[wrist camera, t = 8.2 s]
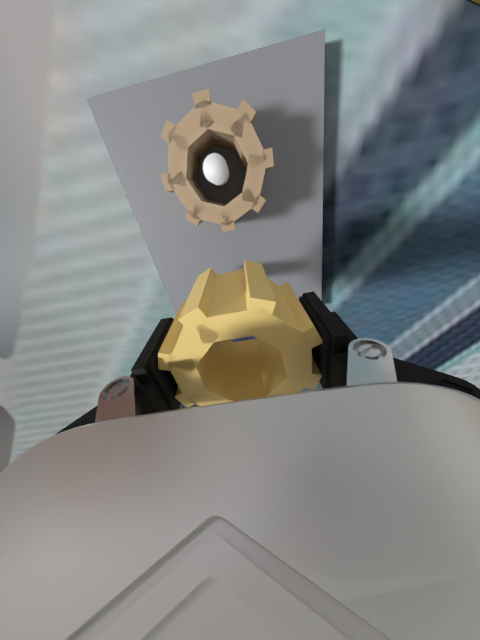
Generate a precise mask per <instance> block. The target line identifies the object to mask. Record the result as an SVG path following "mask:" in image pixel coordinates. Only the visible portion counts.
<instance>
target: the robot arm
mask: <svg viewBox="0 0 480 640" xmlns="http://www.w3.org/2000/svg"><path fill="white" fill-rule="evenodd" d="M299 301H300V303H301V305H302V306H303V308H304V310H305V311H306V313H307V315H308V316H309V318H310V320H311V321H312V323H313V325H314V326H315V328H316V330H317V332H318V333H319V335H320V337H321V339H322V344H320V345H318V346H315V347H313V348H312V356H313V358H314V360H315V362H316V364H317V366H318V368H319V370H320V373H321V375H322V378H321V379H320V383H321V385H322V387H323V389H317V390H310V391H303V392H296V393H288V394H281V395H274V396H267V397H260V398H253V399H246V400H239V401H232V402H225V403H218V404H211V405H204V406H197V407H190V408H184V409H179V407H180V402H179V401H178V400H177V399H176V398H175V395H176V391H177V388H178V384H177V383H176V381H175V379H174V377H173V375H172V373H171V371H167V370H159V368H158V352H159V350H160V348H161V346H162V344H163V342H164V340H165V338H166V336H167V333H168V331H169V329H170V327H171V325H172V323H173V321H174V320H173V318H166V319H161V320H160V322H159V323H158V325H157V327H156V329H155V330H154V332H153V334H152V335H151V337H150V339H149V340H148V342H147V344H146V346H145V347H144V349H143V351H142V352H141V354H140V356H139V357H138V359H137V361H136V362H135V364H134V366H133V368H132V369H131V371H132V374H131V375H130V376H124V377H120V378H117V379H115V380H114V381H112V382H110V383H109V384H108V385H107V386H106V387H105V388H104V389H103V390H102V391H101V393H100V395H99V398H98V405H97V406H96V407H95V408H93V409H92V410H90V411H89V412H87V413H86V414H84V415H83V416H81V417H80V418H78V419H77V420H76V421H74V422H73V423H71V424H70V425H68V426H67V427H65V428H64V429H62V430H61V431H59V432H58V433H56V434H55V435H54V436H52V437H50V438H47V439H45V440H43V441H41V442H39V443H38V444H36V445H34V446H32V447H31V448H29V449H27V450H26V451H24V452H23V453H22V454H20V455H19V456H18V457H17V458H16V459H15V460H14V461H13V462H11V463H10V464H9V465H8V466H7V468H6V469H5V470H4V471H3V472H2V473H1V474H0V640H480V389H478V388H477V387H476V386H475V385H473V384H471V383H469V382H467V381H465V380H463V379H460V378H457V377H454V376H451V375H448V374H445V373H441V372H438V371H435V370H432V369H428V368H425V367H422V366H419V365H415V364H412V363H409V362H405V361H402V360H399V359H396V358H393V356H392V352H391V349H390V348H389V347H388V346H387V345H386V344H384V343H383V342H381V341H378V340H375V339H371V338H359V339H358V338H357V337H356V336H355V335H354V333H353V332H352V331H351V330H350V329H349V328H348V326H347V325H346V324H345V323H344V322H343V320H342V319H341V318H340V317H339V316H338V315H337V313H335V312H330V311H329V310H328V308H327V307H326V306H325V305H324V303H323V302H322V301H321V300H320V298H319V297H318V296H317V295H316V293H315V292H314V291H313V292H307V293H303V294H302V296H300V297H299Z"/></svg>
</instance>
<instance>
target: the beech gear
mask: <svg viewBox="0 0 480 640" xmlns="http://www.w3.org/2000/svg"><path fill="white" fill-rule="evenodd" d="M192 96H193V100H194V105H195V107H194V108H193V109H192V110H191V111H190V112H189V113H188V114H187V115H186V116H185V117H184V118H183V119H182V120H181V121H180V122H179V123H178V124H177V125H176V126H175V125H173V124H172V123H171V122H170V121H168V120H166V123H165V125H164V128H163V131H162V134H161V136H160V137H161V138H162V139H164V140H165V141H166V142H167V143H168V173H167V174H162V175H160V176H161V179H162V182H163V185H164V188H165V191H166V192H175V193H176V195H177V196H178V198H179V199H180V201H181V202H182V203H183V205H184V206H185V208H186V209H187V210H188V213H187V215H186V217H185V219H187V220H188V221H190V222H191V223H192V224H194V225H195V226H198V225H199V224H201V223H202V222H203V221H208V222H213V223H217V224H221V226H222V231H223V232H225V231H230V230H235V228H236V221H235V220H237V219H238V218H239V217H241V216H242V215H243V214H245V213H246V212H248V211H249V210H250V209H253V210H254V211H256V212H257V213H258V212H259V210H260V209H261V207H262V206H263V204H264V203H265V201H266V200H265V199H264V198H263V197H262V196H260V192H261V188H262V183H263V178H264V174H265V173H266V172H267V171H269V170H270V169H271V168H272V167H274V162H273V151H272V148H268V149H263V147H262V145H261V143H260V140H259V138H258V136H257V134H256V132H255V130H254V128H253V123H254V119H255V114H256V111H255V110H254V109H253V108H252V107H251V106H250V105H249V104H248V103H247V102H245V101H244V100H243V99H242V101H241V103H240V105H239V107H238V109H234V108H231V107H227V106H224V105H220V104H217V103H213V102H212V100H211V96H210V92H209V89H206V90H202V91H199V92H195V93H192ZM214 146H219V147H223V148H227V149H231V150H235V152H236V154H237V156H238V158H239V159H240V161H241V163H242V165H243V167H244V169H245V176H244V182H243V188H242V193H241V194H239V195H238V196H237V197H235V198H234V199H233V200H232V201H230V202H229V203H228V204H224V203H220V202H216V201H211V200H209V199H208V197H207V196H206V194H205V192H204V191H203V189H202V188H201V186H200V185H199V183H198V175H199V162H200V159H201V158H202V157H203V156H204V155H205V154H206V153H207V152H208V151H210V150H211V149H212V148H213V147H214Z"/></svg>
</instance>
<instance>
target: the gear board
mask: <svg viewBox="0 0 480 640" xmlns="http://www.w3.org/2000/svg"><path fill="white" fill-rule="evenodd" d="M324 73H325V30H321V31H318V32H314V33H311V34H307V35H304V36H301V37H297V38H294V39H290V40H287V41H283V42H280V43H276V44H273V45H270V46H266V47H263V48H259V49H256V50H252V51H249V52H246V53H242V54H239V55H235V56H232V57H228V58H225V59H221V60H218V61H215V62H211V63H208V64H204V65H201V66H197V67H194V68H190V69H187V70H184V71H180V72H177V73H173V74H170V75H166V76H163V77H159V78H156V79H153V80H149V81H146V82H142V83H139V84H135V85H132V86H128V87H125V88H122V89H118V90H115V91H111V92H108V93H104V94H101V95H97V96H94V97H91V98H87V101H88V104H89V106H90V109H91V111H92V113H93V116H94V118H95V121H96V123H97V126H98V128H99V130H100V133H101V135H102V138H103V140H104V143H105V145H106V147H107V150H108V152H109V155H110V157H111V159H112V162H113V164H114V167H115V169H116V172H117V174H118V176H119V179H120V181H121V184H122V186H123V188H124V191H125V193H126V196H127V198H128V201H129V203H130V205H131V208H132V210H133V213H134V215H135V217H136V220H137V222H138V225H139V227H140V230H141V232H142V234H143V237H144V239H145V242H146V244H147V247H148V249H149V251H150V254H151V256H152V259H153V261H154V263H155V266H156V268H157V271H158V273H159V276H160V278H161V280H162V283H163V285H164V288H165V290H166V292H167V295H168V297H169V300H170V302H171V305H172V307H173V309H174V312H175V314H176V315H177V313H178V311H179V309H180V307H181V305H182V303H183V302H186V301H187V299H188V297H189V295H190V292H191V290H192V288H193V286H194V283H195V281H196V279H197V277H198V276H199V275H200V274H202V273H203V272H205V271H206V270H207V269H209V268H210V267H211V268H212V269H213V270H214V272H215V273H216V274H222V273H227V272H232V271H237V270H242V269H243V266H244V261H245V260H246V261H251V262H256V263H261V264H262V266H263V269H264V271H265V274H266V277H267V278H268V279H270V280H271V281H272V282H274V283H275V284H277V285H278V286H281V285H283V284H284V283H286V282H288V283H289V285H290V286H291V288H292V290H293V291H294V293H295V295H296V296H297V298H298V300H299V297H300V296H302V294H303V293H307V292H313V291H314V292H315V293H316V295H317V296H318V297H319V298H320V300H321V301H322V228H323V151H324ZM206 89H209V92H210V96H211V100H212V102H213V103H217V104H220V105H224V106H227V107H231V108H234V109H238V107H239V105H240V103H241V101H242V99H243V100H244V101H245V102H247V103H248V104H249V105H250V106H251V107H252V108H253V109H254V110H255V111H256V114H255V119H254V123H253V128H254V130H255V132H256V134H257V136H258V138H259V140H260V143H261V145H262V147H263V149H268V148H272V151H273V162H274V167H272V168H271V169H270V170H269V171H267V172H266V173H265V174H264V178H263V183H262V188H261V192H260V196H262V197H263V198H264V199H265V200H266V201H265V203H264V204H263V206H262V207H261V209H260V210H259V212H258V213H257V212H256V211H254V210H253V209H250V210H249V211H248V212H246V213H245V214H243V215H242V216H241V217H239V218H238V219H237V220H235V221H236V228H235V230H230V231H225V232H223V231H222V226H221V224H217V223H213V222H208V221H203V222H202V223H201V224H199V225H198V226H195V225H194V224H192V223H191V222H190V221H188V220H187V219H185V217H186V215H187V213H188V210H187V209H186V208H185V206H184V205H183V203H182V202H181V201H180V199H179V198H178V196H177V195H176V193H175V192H166V191H165V188H164V185H163V182H162V179H161V176H160V175H162V174H167V173H168V143H167V142H166V141H165V140H164V139H162V138H161V137H160V136H161V134H162V131H163V128H164V125H165V123H166V120H168V121H170V122H171V123H172V124H173V125H175V126H176V125H177V124H178V123H179V122H180V121H181V120H182V119H183V118H184V117H185V116H186V115H187V114H188V113H189V112H190V111H191V110H192V109H193V108H194V107H195V105H194V100H193V96H192V93H195V92H199V91H202V90H206ZM244 176H245V169H244V167H243V165H242V163H241V161H240V159H239V158H238V156H237V154H236V152H235V150H231V149H227V148H223V147H219V146H214V147H213V148H212V149H211V150H210V151H208V152H207V153H206V154H205V155H204V156H203V157H202V158H201V159H200V162H199V175H198V183H199V185H200V186H201V188H202V189H203V191H204V192H205V194H206V196H207V197H208V199H209V200H211V201H216V202H220V203H224V204H228V203H229V202H230V201H232V200H233V199H234V198H235V197H237V196H238V195H239V194H241V193H242V188H243V182H244Z"/></svg>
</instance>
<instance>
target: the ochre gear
mask: <svg viewBox="0 0 480 640" xmlns="http://www.w3.org/2000/svg"><path fill="white" fill-rule="evenodd" d="M247 336H255V337H257V339H252V340H247V341H241V342H235V343H234V342H232V341H230V340H229V339H235V338H241V337H247ZM320 344H322V339H321V337H320V335H319V333H318V332H317V330H316V328H315V326H314V325H313V323H312V321H311V320H310V318H309V316H308V315H307V313H306V311H305V310H304V308H303V306H302V305H301V303H300V301H299V300H298V298H297V296H296V295H295V293H294V291H293V290H292V288H291V286H290V285H289V283H288V282H286V283H284V284H283V285H281V286H278V285H277V284H275V283H274V282H272V281H271V280H270V279H268V278H267V277H266V274H265V271H264V269H263V266H262V264H261V263H256V262H251V261H246V260H245V261H244V266H243V269H242V270H237V271H232V272H227V273H222V274H216V273H215V272H214V270H213V269H212V268H211V267H210V268H209V269H207V270H206V271H205V272H203V273H202V274H200V275H199V276H198V277H197V279H196V281H195V283H194V286H193V288H192V290H191V292H190V295H189V297H188V299H187V301H186V302H183V303H182V305H181V307H180V309H179V311H178V313H177V315H176V317H175V319H174V321H173V323H172V325H171V327H170V329H169V331H168V333H167V336H166V338H165V340H164V342H163V344H162V346H161V348H160V350H159V352H158V368H159V370H167V371H171V373H172V375H173V377H174V379H175V381H176V383H177V384H178V388H177V391H176V395H175V398H176V399H177V400H178V401H179V402H180V403H182V404H183V405H184V406H186V407H189V406H191V405H193V404H197V405H200V406H204V405H211V404H218V403H225V402H232V401H239V400H246V399H253V398H260V397H267V396H274V395H281V394H288V393H296V392H300V391H301V390H302V389H304V388H310V389H315V388H316V386H317V384H318V383H319V381H320V379H321V378H322V375H321V373H320V370H319V368H318V366H317V364H316V362H315V360H314V358H313V356H312V348H313V347H315V346H318V345H320Z"/></svg>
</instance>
